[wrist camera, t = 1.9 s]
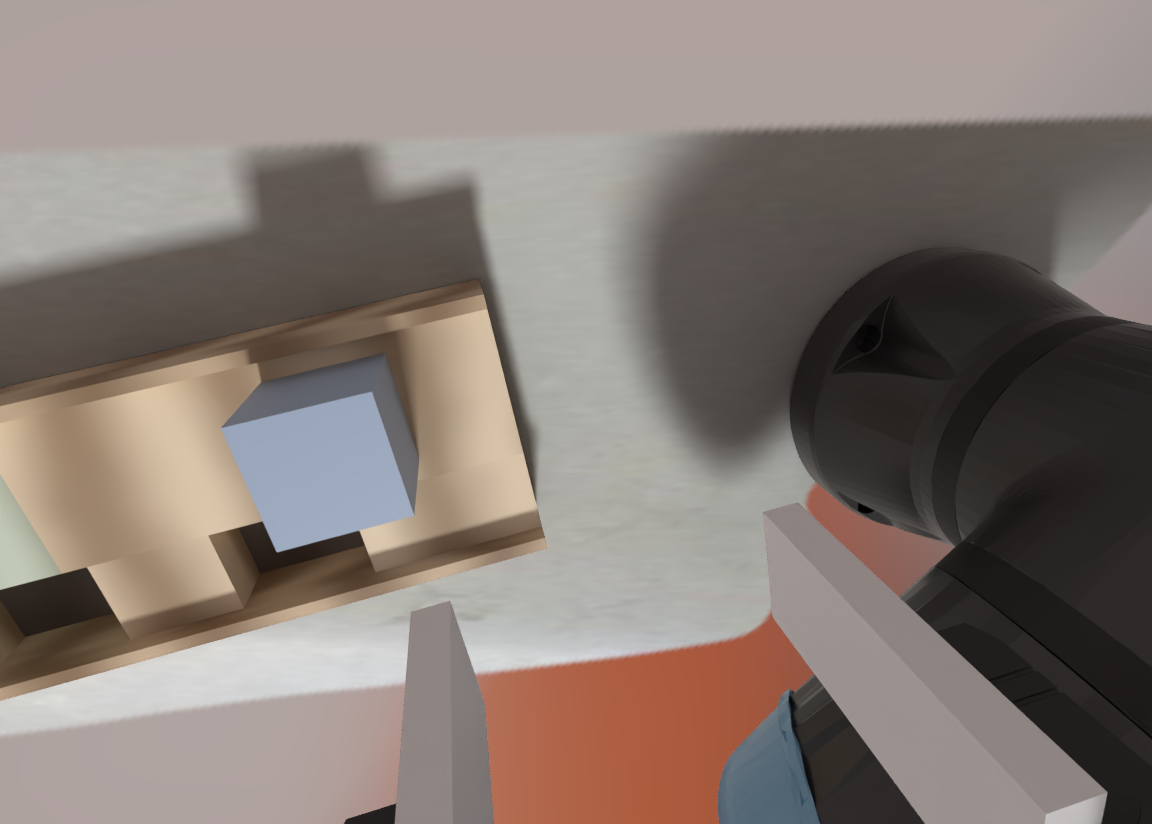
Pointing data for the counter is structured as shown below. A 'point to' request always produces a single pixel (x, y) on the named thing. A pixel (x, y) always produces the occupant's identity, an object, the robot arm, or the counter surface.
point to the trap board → (237, 489)
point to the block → (326, 452)
